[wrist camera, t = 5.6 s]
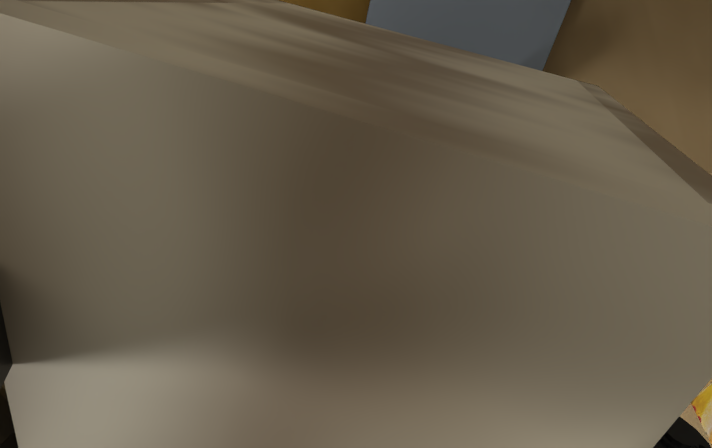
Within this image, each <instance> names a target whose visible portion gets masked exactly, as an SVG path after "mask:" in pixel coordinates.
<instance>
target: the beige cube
mask: <svg viewBox="0 0 712 448" xmlns="http://www.w3.org/2000/svg"><path fill="white" fill-rule="evenodd" d="M0 303H1V308H2V313H3V318H4V322H5V327H6V332H7V337H8V342H9V347H10V352H11V357H12V362H13V365H12V367H11V369H10V371H9V373H8V375H7V377H6V379H5V381H4V384H5V389H6V393H7V398H8V403H9V407H10V412H11V416H12V421H13V425H14V430H15V434H16V439H17V443H18V448H653V447H654V446H655V445H656V443H657V442H658V441H659V440H660V439H661V437H662V436H663V435H664V434H665V433H666V431H667V430H668V429H669V428H670V427H671V426H672V424H673V423H674V422H675V421H676V420H677V418H678V417H679V416H680V415H681V414H682V413H683V411H684V410H685V409H686V408H687V407H688V405H689V404H690V403H691V402H692V401H693V399H694V398H695V397H696V396H697V395H698V394H699V392H700V391H701V390H702V389H703V388H704V386H705V385H706V384H707V383H708V382H709V381H710V379H711V378H712V176H711V175H710V174H708V173H707V172H706V171H705V170H703V169H702V168H701V167H700V166H698V165H697V164H696V163H695V162H693V161H692V160H691V159H690V158H688V157H687V156H686V155H684V154H683V153H682V152H681V151H679V150H678V149H677V148H676V147H674V146H673V145H672V144H671V143H669V142H668V141H667V140H666V139H664V138H663V137H662V136H660V135H659V134H658V133H657V132H655V131H654V130H653V129H652V128H650V127H649V126H648V125H647V124H645V123H644V122H643V121H641V120H640V119H639V118H638V117H636V116H635V115H634V114H633V113H631V112H630V111H629V110H628V109H626V108H625V107H624V106H623V105H621V104H620V103H619V102H617V101H616V100H615V99H614V98H612V97H611V96H610V95H609V94H607V93H606V92H605V91H604V90H602V89H601V88H600V87H598V86H596V85H592V84H588V83H585V82H581V81H577V80H574V79H570V78H566V77H562V76H559V75H555V74H551V73H547V72H544V71H540V70H536V69H532V68H529V67H525V66H521V65H518V64H514V63H510V62H506V61H503V60H499V59H495V58H491V57H488V56H484V55H480V54H476V53H473V52H469V51H465V50H462V49H458V48H454V47H450V46H447V45H443V44H439V43H435V42H432V41H428V40H424V39H420V38H417V37H413V36H409V35H405V34H402V33H398V32H394V31H391V30H387V29H383V28H379V27H376V26H372V25H368V24H364V23H361V22H357V21H353V20H349V19H346V18H342V17H338V16H335V15H331V14H327V13H323V12H320V11H316V10H312V9H308V8H305V7H301V6H297V5H293V4H290V3H286V2H282V1H279V0H0Z"/></svg>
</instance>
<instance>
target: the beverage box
mask: <svg viewBox="0 0 712 448" xmlns="http://www.w3.org/2000/svg"><path fill="white" fill-rule="evenodd" d="M691 404H692V406H693V408H694V410H695V412H696V414H697V416H698V418H699V420H700V422H701V424H702V426H703V428H704V430H705V432H706V434H707V436H708V439H709V441H710V443H711V445H712V383H711V384H710V385H709V386H708V387H706V388H705V389H704V390H703V391H701V392H700V393H699V394H698V395H697V396H696V397H695V398H694V399H693V401H692V402H691Z"/></svg>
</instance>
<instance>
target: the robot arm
mask: <svg viewBox="0 0 712 448" xmlns="http://www.w3.org/2000/svg"><path fill="white" fill-rule="evenodd" d="M12 365H13V362H12V357H11V352H10V347H9V342H8V337H7V332H6V327H5V322H4V318H3V313H2V308H1V303H0V448H18V443H17V439H16V434H15V430H14V425H13V421H12V416H11V412H10V407H9V403H8V398H7V393H6V389H5V384H4V381H5V379H6V377H7V375H8V373H9V371H10V369H11V367H12ZM653 448H711V447H710V445H709V443H708V442H707V441H706V440H705V439H704V438H703V436H702V435H701V434H700V433H699V432H698V431H697V430H696V429H695V428H694V427H692V426H691V425H690V424H689V423H687V422H686V421H685V420H683V419H682V418H681V417H678V418H677V420H676V421H675V422H674V423H673V424H672V426H671V427H670V428H669V429H668V430H667V431H666V433H665V434H664V435H663V436H662V437H661V439H660V440H659V441H658V442H657V443H656V445H655V446H654V447H653Z"/></svg>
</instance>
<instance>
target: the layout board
mask: <svg viewBox="0 0 712 448" xmlns="http://www.w3.org/2000/svg"><path fill="white" fill-rule="evenodd" d="M570 2H571V0H370V5H369V9H368V14H367V19H366V23H365V24H368V25H372V26H376V27H379V28H383V29H387V30H391V31H394V32H398V33H402V34H405V35H409V36H413V37H417V38H420V39H424V40H428V41H432V42H435V43H439V44H443V45H447V46H450V47H454V48H458V49H462V50H465V51H469V52H473V53H476V54H480V55H484V56H488V57H491V58H495V59H499V60H503V61H506V62H510V63H514V64H518V65H521V66H525V67H529V68H532V69H536V70H540V71H542V70H543V68H544V66H545V63H546V61H547V58H548V56H549V53H550V51H551V48H552V46H553V43H554V41H555V39H556V36H557V34H558V31H559V29H560V26H561V24H562V21H563V19H564V16H565V14H566V12H567V9H568V7H569V4H570Z"/></svg>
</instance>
